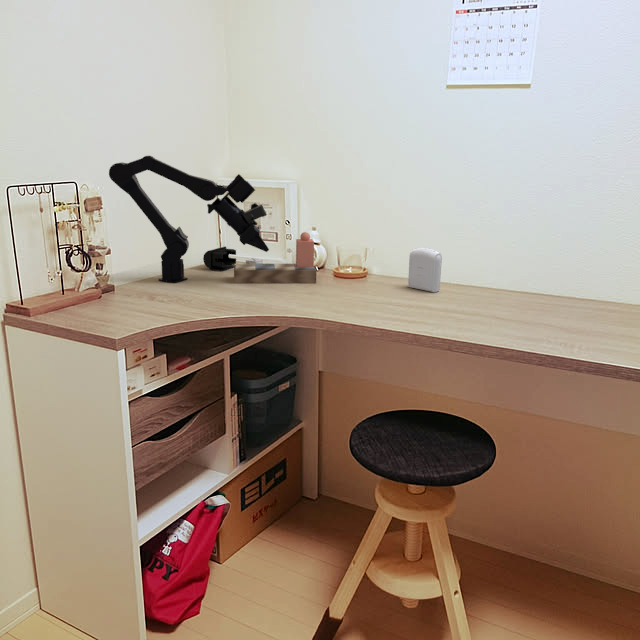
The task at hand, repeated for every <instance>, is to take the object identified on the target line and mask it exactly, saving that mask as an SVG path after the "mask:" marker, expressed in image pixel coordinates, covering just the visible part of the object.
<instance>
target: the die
mask: <svg viewBox="0 0 640 640" xmlns="http://www.w3.org/2000/svg"><path fill="white" fill-rule="evenodd" d="M245 263H252V264H264V261H263V259H259V258H254V257H253V258H248V259H245Z"/></svg>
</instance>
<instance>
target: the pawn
mask: <svg viewBox="0 0 640 640" xmlns="http://www.w3.org/2000/svg"><path fill="white" fill-rule="evenodd" d="M295 245H296V246H295V264H296V266H297V267H315V265H314V262H315V259H314V257H315V255H314V254H315V241H314V240H313V238H312V239H311V235H310V234H309V232H306V231H304V232H301V234H300V235H299V238H296V239H295Z"/></svg>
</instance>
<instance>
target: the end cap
mask: <svg viewBox="0 0 640 640" xmlns="http://www.w3.org/2000/svg"><path fill="white" fill-rule="evenodd" d="M230 255H237V249H234V248H227V246H221V247H217V248H214V249H210V250H207V251H206V252H204V254H203V258H202V259H203V260H202V261H203V264H204V265H205V267H207V268H208V269H209V270H211V271H214V272H225V271H228V270H232V269H234V265H236V263H237V258H236V257H235V258H233V257H229V256H230Z"/></svg>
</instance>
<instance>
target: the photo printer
mask: <svg viewBox="0 0 640 640" xmlns="http://www.w3.org/2000/svg"><path fill="white" fill-rule="evenodd" d="M442 259H443V257H442V254H441V252H439V251H437V250H435V249H432V248H427V247H418V248H414V249H412V250H410V254H409V262H408V278H407V279H408V281H407V282H408V283H407V284H408V285H407V286H408V287H409V288H411V289H417V290H422V291H426V292H431V293H437V292H439V291H440V290H441V278H442V277H441V275H442Z"/></svg>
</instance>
